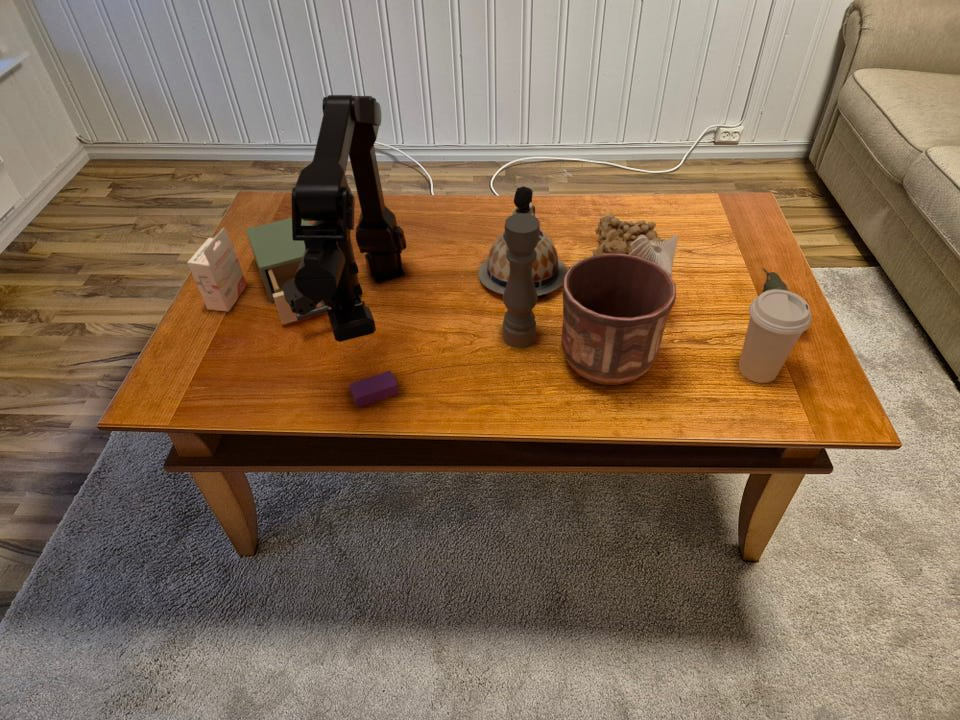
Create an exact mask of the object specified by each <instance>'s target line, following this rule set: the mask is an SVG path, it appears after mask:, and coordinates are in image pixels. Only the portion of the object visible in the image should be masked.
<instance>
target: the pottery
mask: <svg viewBox="0 0 960 720" xmlns="http://www.w3.org/2000/svg"><path fill="white" fill-rule="evenodd" d="M676 299H677V284H676V283H675V281H674V279H673V277H672V278H671V276H670V275H669V273H667V272H666V271H665V270H663V269H662V268H661V267H660V266H658V265H657V264H656V263H653V262H651V261H648V260H646V259H643V258H641V257H637V256H632V255H627V254H600V255H595V256H593V255H591V256H588V257H586V258H583V259H580V260H578V261H577V262H575V263H574V264H573V265H571V266H570V267H568V268H567V273H566V274H565V276H564V280H563V284H562V315H563V316H562V326H561V337H560V338H561V341H560V342H561V349H562V352H563V354H564V357H565V359H566V361H567V363H568V365H569V367H570V368H571V369H572V370H573V371H574V372H575V373H576V374H577V375H578V376H581V377H582V378H584V379H586V380H587V381H590V382H592V383H595V384H599V385H603V386H619V385H623V384H628V383H633V382H634V381H635V380H637V379H639V378H640V377H642V376H644V374H646V373H648V372H649V370H650V369H651V367H652V366H653V365H654V363H655V361H656V360H657V359H658V356H659V353H660V349H661V344H662V341H663V335H664V331H665V328H666V325H667V322H668V319H669V316H670V314H671V312H672V309H673V307H674V305H675V302H676Z"/></svg>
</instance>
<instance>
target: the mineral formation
mask: <svg viewBox="0 0 960 720" xmlns="http://www.w3.org/2000/svg"><path fill="white" fill-rule="evenodd" d="M655 228H656V222H654V221H648V222H646V220H644V219H643V220H642V219H641V220H638V221H637V222H633V221H632V220H630V221H628V220H623V221H621V220H620V219H619V217H615V215H613V214H611V213H606V215H601V216H600V217H599V221H598V222H597V227H596V228H595V230H594V232H595V234H596V235H598V241H599V242H600V245H598V246H597V248H596V249H595V250H593V251H592V256H595V255H600V254H627V255H629V254H630V253H631V252H632V249H631V247H630V245H631V243H632V242H633V241H635V240H636V239H638V237H639V236H640V235H645V236H646V237H647V239H648V240H649V241H650V240H651V241H652V242H653V243H654V241H655V242H656V244H657V248H658V243H659V244H660V242H661V241H662V243H663V241H664V240H665V241H667V239H666V238H663V239H661V237H660V236H658V232H657V231H656V230H655ZM644 259H645V258H644Z"/></svg>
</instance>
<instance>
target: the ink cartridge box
mask: <svg viewBox="0 0 960 720" xmlns="http://www.w3.org/2000/svg"><path fill="white" fill-rule="evenodd" d="M186 263H187V265H188V268H189V270H190V273H191V274H192V277H193V279H194V282H195V284H196V286H197V289H198V291H199V292H200V295H201V298H202V300H203V302H204V304H205V307H206V309H207V310H208V311H209V310H210V311H219V312H227V313H228V312H230V311H231V309H232V308H233V306H234V305H235V304H236V302H237V301H238V299H239V298H240V297H241V295H242V294H243V292H245V290H246V288H247V286H248V285H247V281H246V280H245V279H246V278H245V276H244V273H243V271H242V268H241V265H240V262H239V260H238V256H237V253H236V250H235V248H234V245H233V243H232V240H231V238H230V237H229V234H228V232H227V230H226V228H225V227H222V228H221V229H220V230H219V232H218V233H217V234H216V235H215V237H208V238H207V239H206V240H205V241H204V242H203V244H201V246H200V247H199V248H198V249H197V251H196V252H195V253H194V254H193V255H192V256H191V257H190V259H189V260H188V261H187V262H186Z"/></svg>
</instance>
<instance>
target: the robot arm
mask: <svg viewBox="0 0 960 720" xmlns="http://www.w3.org/2000/svg"><path fill="white" fill-rule="evenodd" d="M381 125H382V107H381V105H380V103H379V102H378V101H377V99H376V98H375V97H373V96H372V95H352V94H328V95H327V96H323V99H322V118H321V124H320V128H319V133H318V137H317V141H316V145H315V150H314V153H313V158H312V162H310V163H309V164H308V165H306V166H305V167H304V168H302V169H301V170H300V171H299V174H298V177H297V180H296V183H295V186H293V188H292V189H291V199H290V200H291V218H292V238H293V241H304V243H305V252H304V255H303V257H302V260H301V262H300V265H299V267H298V270H297V272H296V275H295V278H293V279H291V280H289V281H288V282H286V283H285V284H284V285H283V287H282V289H283V293H284V297H285V300H286V302H287V303H288V304H289V305H290V307H291V311H292V312H293V313H297V314H300V315H305V314H307V313H309V312H311V311H313V310H314V309H316V307H317V304H318V303H320V302H321V301H322V300H323V301H324V305H326V306H328V307H330V308H332V309H328V310H326V311H327V312H326V314H327V316H328V319H329V323H330V328H331V331H332V334H333V337H334V340H335V341H336V342H339V343H341V342H345V341H349V340H354V339H357V338H361V337H365V336H369V335H373V334H375V333H376V331H377V326H376V322H375V318H374V316H373V313H372V311H371V308H370V307H369V306H368V305H366V303H365V300H362V296H363V295H364V294H363V288H362V287H361V286H362V285H361V283H360V279H359V275H358V274H359V273H360V272H359V266H358V264H357V261H356V259H355V254H354V248H353V243H352V238H351V232H352V230H355V241H356V244H357V247H358V250H359V253H360V254H364V259H365V264H366V271H367V273H368V274H369V276H370V277H371V278H373V280H374V282H375V283H376V284H381V283H384V282H387V281H390V280H391V281H392V280H394V279H398V278H401V277H405V276H406V271H405V270H404V268H403V263H402V253H403V251H404V250H405V249H407V240H406V235H405V231H404V229H403V228H402V227H401V226H400V225H398V223H397V218H396V215H395V213H394V212H393V211H391V210H390V209H389V208H388V207H387V206H386V204H385V203H386V202H385V199H384V192H383V187H382V183H381V177H380V171H379V166H378V160H377V154H376V149H375V148H376V147H375V143H376V141H377V138H378V134H379V131H380V127H381ZM348 160H349V161H348ZM348 162H349V163H350V167H351V170H352V171H351V172H352V175H353V180H354V185H355V190H356V193H357V198H358V202H359V207H360V214H359V218H358V222H357V225H356V227H355V201H356V200H355V196H354V195H353V192H352V190H351V187H350V186H349V183H348V180H347V176H346V171H347V166H348ZM302 219H303V220H304V221H309V222H313V223H312V224H311V226H308V225H303V226H301V223H302Z"/></svg>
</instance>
